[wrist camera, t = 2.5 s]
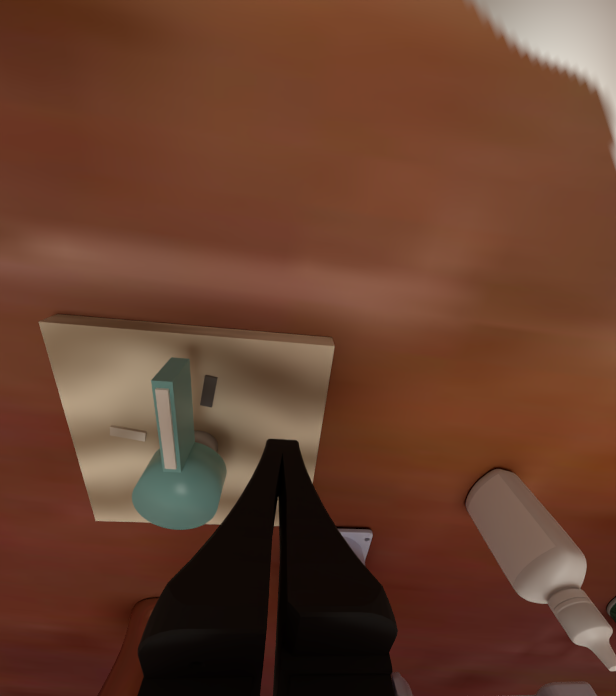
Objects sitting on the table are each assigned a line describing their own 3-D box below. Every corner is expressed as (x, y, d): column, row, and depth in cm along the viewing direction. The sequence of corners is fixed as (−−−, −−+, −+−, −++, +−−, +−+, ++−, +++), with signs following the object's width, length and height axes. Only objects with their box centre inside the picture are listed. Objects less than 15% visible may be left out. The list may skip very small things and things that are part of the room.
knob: (226, 496, 21) (218, 532, 19) (155, 493, 21) (136, 530, 18) (225, 361, 16) (213, 386, 14) (133, 354, 16) (105, 379, 14)
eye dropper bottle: (450, 491, 27) (554, 673, 16) (505, 460, 26) (657, 637, 15) (472, 513, 29) (580, 694, 18) (524, 485, 28) (676, 663, 17)
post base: (304, 511, 28) (306, 550, 24) (106, 504, 26) (80, 545, 23) (331, 337, 20) (338, 360, 17) (57, 314, 19) (8, 334, 16)
